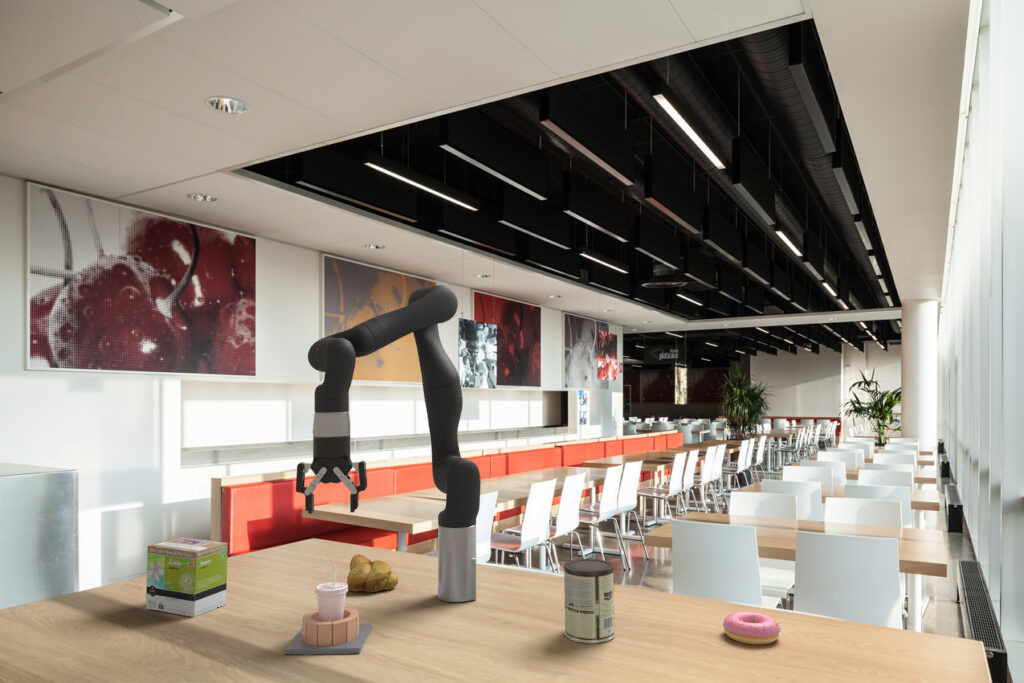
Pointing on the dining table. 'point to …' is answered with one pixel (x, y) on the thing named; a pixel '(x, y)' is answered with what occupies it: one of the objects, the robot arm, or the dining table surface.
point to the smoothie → (331, 599)
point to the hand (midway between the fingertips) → (331, 512)
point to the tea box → (186, 576)
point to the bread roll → (370, 575)
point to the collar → (330, 635)
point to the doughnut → (751, 628)
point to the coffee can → (589, 600)
